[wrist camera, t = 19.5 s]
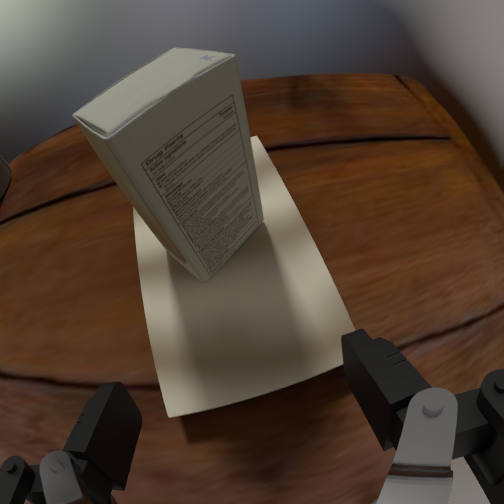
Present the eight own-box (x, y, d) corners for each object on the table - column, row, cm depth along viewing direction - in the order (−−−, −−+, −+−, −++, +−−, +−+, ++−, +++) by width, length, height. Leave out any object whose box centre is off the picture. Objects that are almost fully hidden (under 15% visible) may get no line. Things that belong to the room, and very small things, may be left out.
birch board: (140, 191, 26) (131, 178, 24) (258, 151, 26) (256, 135, 25) (179, 416, 16) (168, 417, 14) (357, 358, 17) (365, 353, 15)
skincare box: (222, 193, 22) (179, 43, 11) (266, 221, 20) (244, 50, 9) (160, 252, 20) (66, 112, 9) (201, 289, 18) (103, 136, 7)
